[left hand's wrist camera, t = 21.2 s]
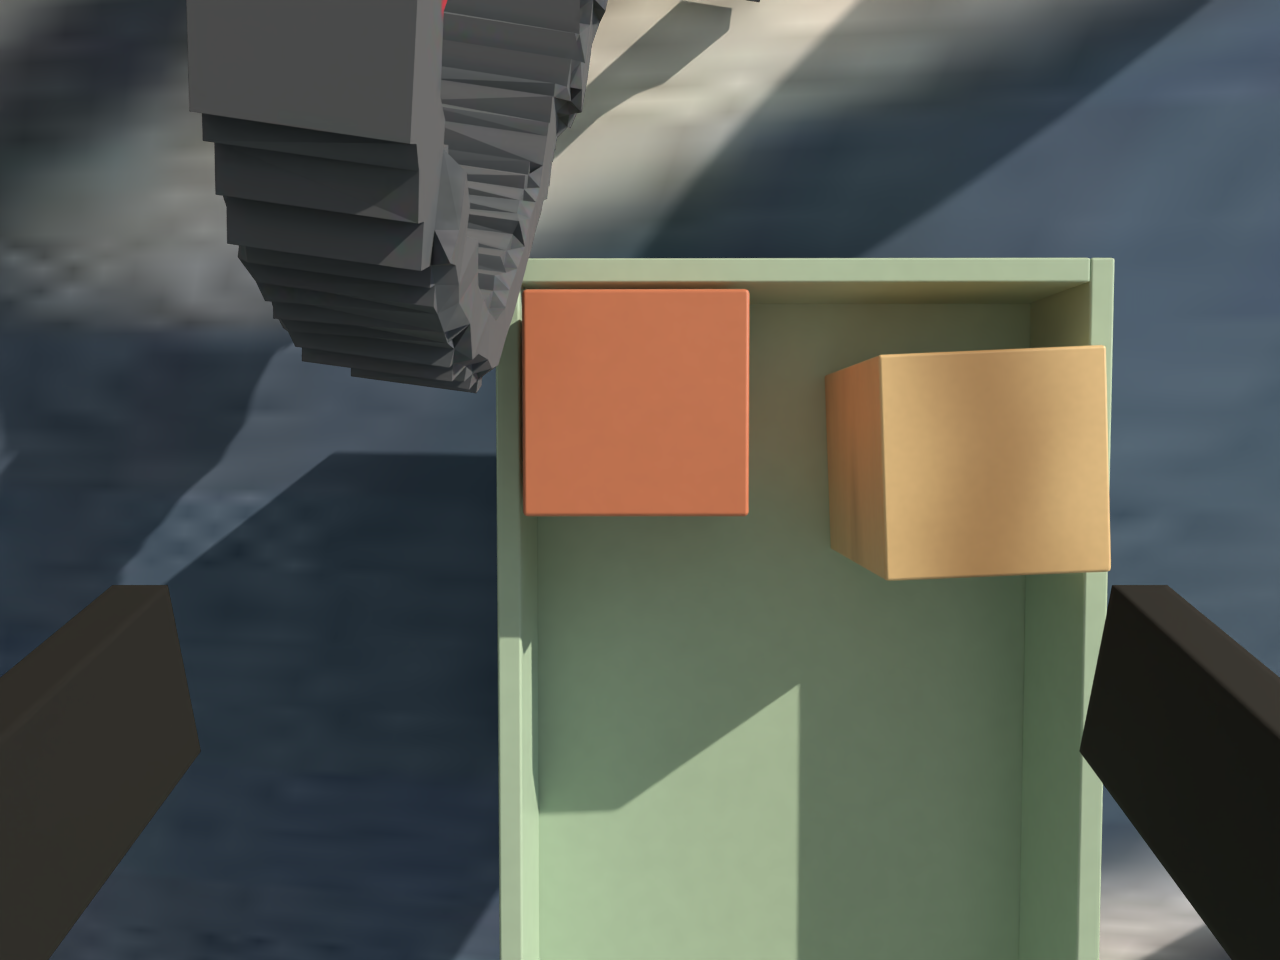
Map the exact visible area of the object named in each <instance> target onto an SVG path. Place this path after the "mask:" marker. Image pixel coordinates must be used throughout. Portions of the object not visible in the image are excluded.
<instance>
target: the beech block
mask: <svg viewBox="0 0 1280 960" xmlns="http://www.w3.org/2000/svg"><path fill="white" fill-rule="evenodd" d="M825 400H826V429H827V457H828V486H829V515H830V543H831V549H833V550H834V551H836V552H838V553H839V554H841V555H843V556H845V557H846V558H848V559H850V560H852V561H853V562H855V563H857V564H859V565H860V566H862V567H864V568H866V569H867V570H869V571H871V572H872V573H874V574H876V575H878V576H879V577H881V578H883V579H885V580H887V581H900V580H924V579H948V578H971V577H995V576H1019V575H1043V574H1066V573H1090V572H1107V571H1110V569H1111V558H1110V512H1109V467H1108V421H1107V375H1106V347H1105V346H1103V345H1089V346H1067V347H1044V348H1022V349H999V350H976V351H954V352H931V353H909V354H886V355H879V356H876V357H874V358H871V359H868V360H865V361H863V362H860V363H857V364H855V365H852V366H849V367H847V368H844V369H841V370H839V371H836V372H833V373H830V374H828V375H826V376H825Z"/></svg>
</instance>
